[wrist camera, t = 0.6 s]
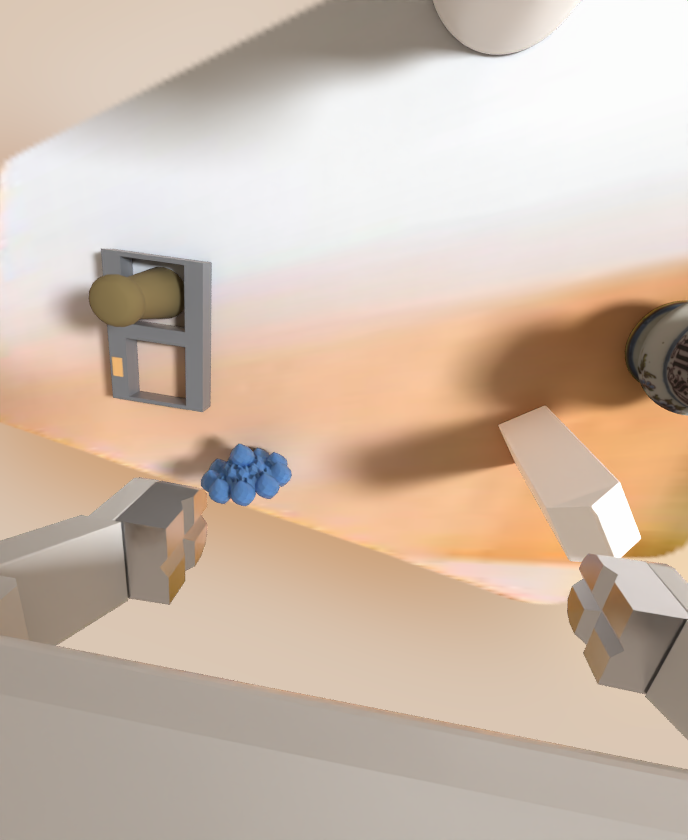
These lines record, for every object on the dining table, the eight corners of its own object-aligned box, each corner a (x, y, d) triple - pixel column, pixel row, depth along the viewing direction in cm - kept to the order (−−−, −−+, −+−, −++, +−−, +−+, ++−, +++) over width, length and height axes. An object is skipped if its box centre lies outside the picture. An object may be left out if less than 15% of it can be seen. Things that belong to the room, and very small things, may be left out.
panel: (113, 248, 51) (99, 248, 49) (211, 262, 50) (202, 263, 48) (124, 392, 58) (112, 398, 55) (210, 405, 57) (201, 412, 55)
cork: (140, 313, 54) (79, 327, 43) (139, 262, 51) (75, 265, 41) (186, 322, 53) (136, 338, 43) (188, 271, 51) (135, 276, 41)
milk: (545, 404, 52) (642, 501, 31) (562, 445, 53) (666, 563, 33) (496, 425, 53) (558, 529, 33) (514, 464, 55) (584, 588, 34)
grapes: (296, 421, 56) (272, 463, 45) (305, 467, 59) (283, 517, 48) (213, 428, 58) (170, 470, 47) (225, 472, 60) (186, 522, 49)
